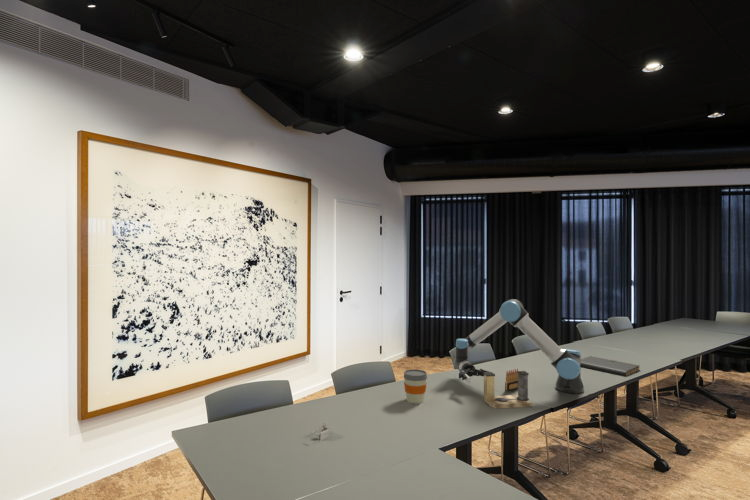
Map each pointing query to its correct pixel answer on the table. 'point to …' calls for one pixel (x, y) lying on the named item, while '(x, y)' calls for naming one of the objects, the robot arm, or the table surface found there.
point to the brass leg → (489, 386)
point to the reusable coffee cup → (415, 385)
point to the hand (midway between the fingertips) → (481, 379)
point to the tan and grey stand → (514, 400)
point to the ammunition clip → (511, 380)
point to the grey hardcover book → (609, 366)
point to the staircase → (323, 432)
